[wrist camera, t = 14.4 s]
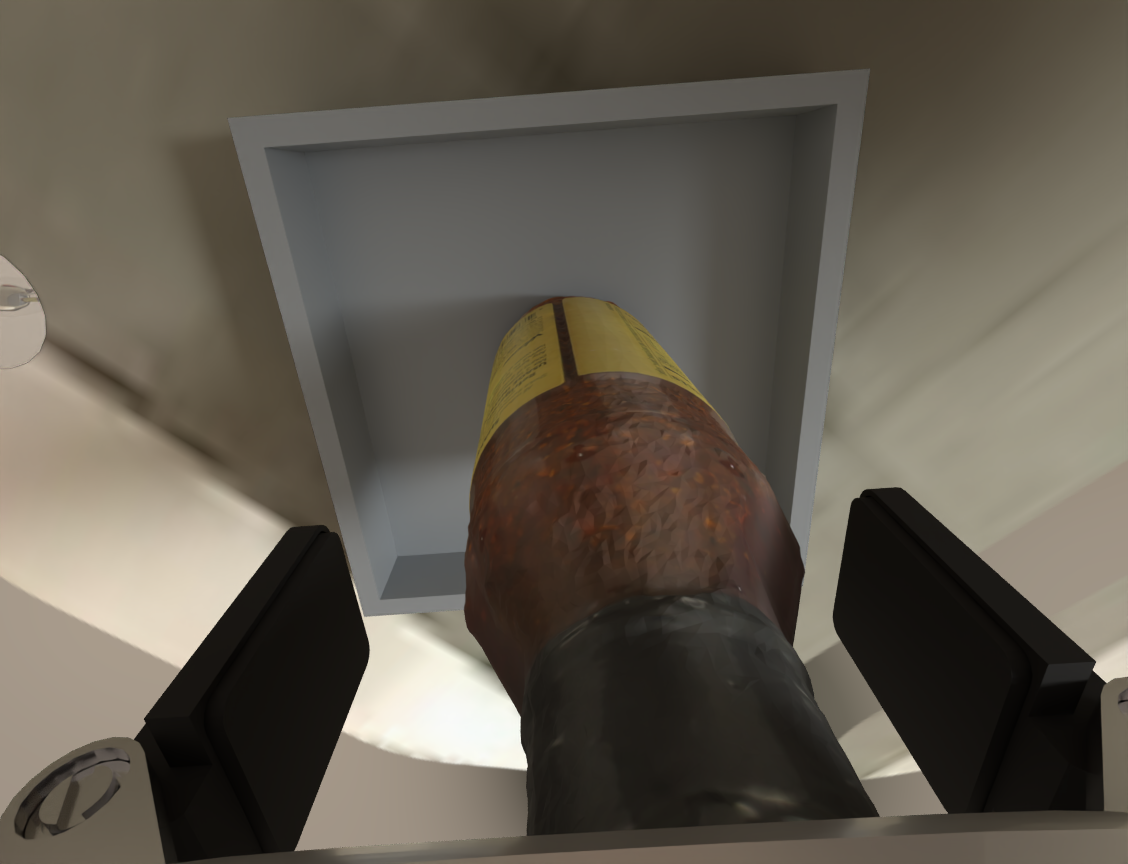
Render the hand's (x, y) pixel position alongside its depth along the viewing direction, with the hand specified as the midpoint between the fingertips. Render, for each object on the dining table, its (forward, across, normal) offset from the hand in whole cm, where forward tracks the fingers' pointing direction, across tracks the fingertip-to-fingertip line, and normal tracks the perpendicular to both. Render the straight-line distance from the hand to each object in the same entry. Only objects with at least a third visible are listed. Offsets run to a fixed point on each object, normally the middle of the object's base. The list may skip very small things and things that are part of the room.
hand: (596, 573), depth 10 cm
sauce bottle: (+13, 0, 0) cm, 13 cm away
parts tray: (+13, 0, 0) cm, 13 cm away
